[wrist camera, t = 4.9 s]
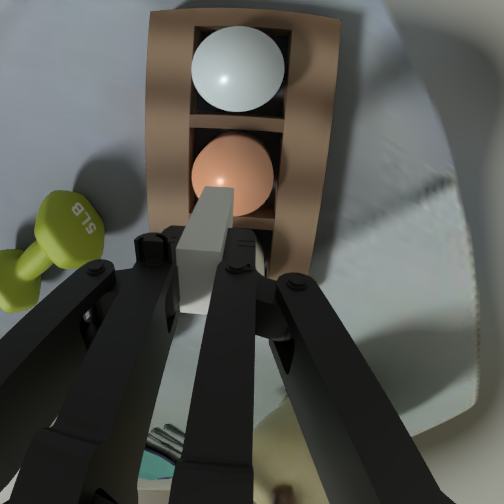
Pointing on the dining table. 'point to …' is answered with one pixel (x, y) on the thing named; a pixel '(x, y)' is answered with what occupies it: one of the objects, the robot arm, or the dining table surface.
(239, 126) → the wooden compartment tray
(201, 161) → the terracotta button
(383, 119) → the dining table surface
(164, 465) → the cutlery set
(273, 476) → the pitcher
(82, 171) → the dining table surface
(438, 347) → the dining table surface
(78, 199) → the dumbbell
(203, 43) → the grey button
